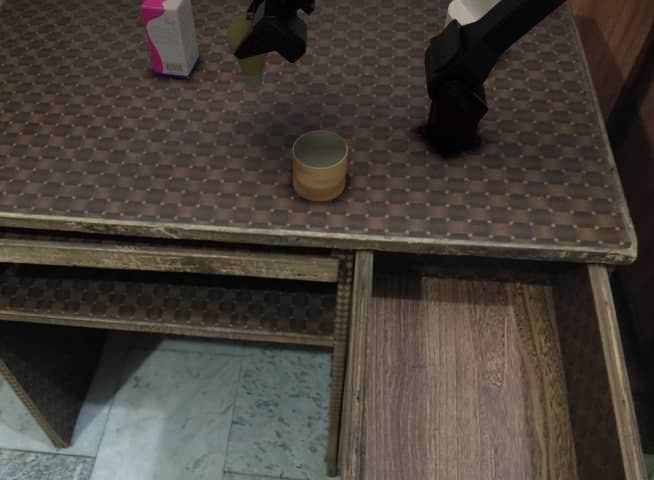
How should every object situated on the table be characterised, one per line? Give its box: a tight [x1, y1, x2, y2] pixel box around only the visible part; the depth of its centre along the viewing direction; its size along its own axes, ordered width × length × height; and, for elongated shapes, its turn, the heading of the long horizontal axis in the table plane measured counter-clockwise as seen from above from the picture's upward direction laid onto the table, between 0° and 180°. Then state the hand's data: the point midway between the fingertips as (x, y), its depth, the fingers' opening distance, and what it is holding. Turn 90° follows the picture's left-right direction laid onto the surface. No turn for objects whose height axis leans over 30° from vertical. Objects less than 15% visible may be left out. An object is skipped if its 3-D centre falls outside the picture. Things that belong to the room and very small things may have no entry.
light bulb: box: [226, 12, 269, 89], centre depth 80 cm, size 6×6×10 cm
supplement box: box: [140, 0, 200, 80], centre depth 96 cm, size 6×6×12 cm
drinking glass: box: [443, 0, 501, 30], centre depth 94 cm, size 9×9×12 cm
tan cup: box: [291, 129, 349, 202], centre depth 82 cm, size 7×7×6 cm
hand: (239, 41), depth 79 cm, fingers closed on light bulb, 5 cm apart
